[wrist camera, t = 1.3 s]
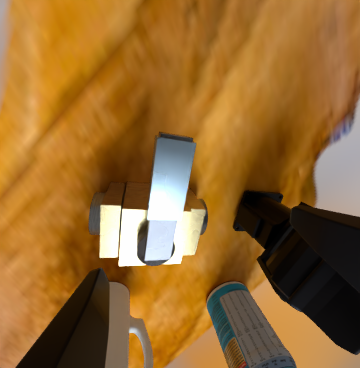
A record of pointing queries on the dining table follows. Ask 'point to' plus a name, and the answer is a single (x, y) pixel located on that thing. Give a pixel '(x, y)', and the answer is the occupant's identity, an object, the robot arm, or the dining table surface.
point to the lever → (165, 197)
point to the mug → (124, 330)
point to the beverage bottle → (245, 330)
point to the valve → (140, 222)
